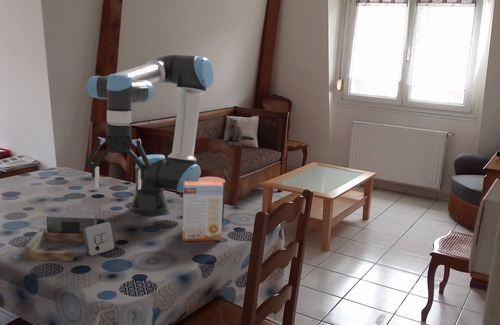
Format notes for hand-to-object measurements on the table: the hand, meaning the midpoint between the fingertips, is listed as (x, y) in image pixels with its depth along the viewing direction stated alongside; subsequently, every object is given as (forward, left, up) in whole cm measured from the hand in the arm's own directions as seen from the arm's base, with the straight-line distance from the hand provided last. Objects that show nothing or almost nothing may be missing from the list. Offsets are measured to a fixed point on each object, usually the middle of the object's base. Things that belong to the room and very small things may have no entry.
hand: (118, 188), depth 168 cm
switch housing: (+17, -9, -21) cm, 29 cm away
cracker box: (-28, -12, -22) cm, 37 cm away
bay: (+19, +2, -21) cm, 29 cm away
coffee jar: (-31, -27, -22) cm, 47 cm away
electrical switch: (+6, +2, -22) cm, 23 cm away
